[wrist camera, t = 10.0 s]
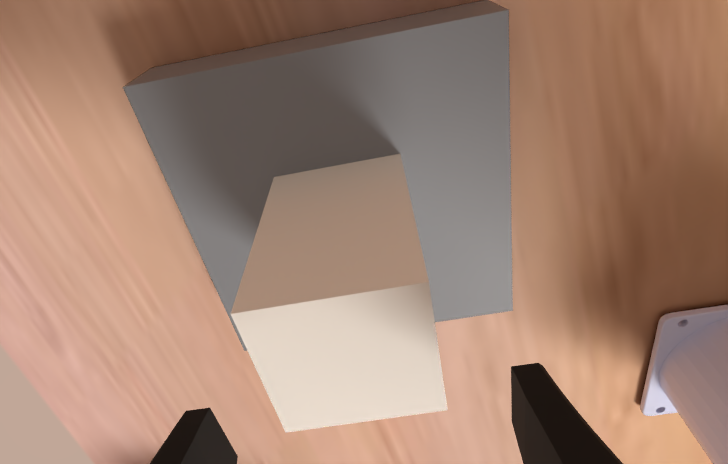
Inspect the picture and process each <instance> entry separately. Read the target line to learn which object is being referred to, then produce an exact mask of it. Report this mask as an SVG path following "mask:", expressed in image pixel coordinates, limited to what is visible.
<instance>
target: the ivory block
mask: <svg viewBox="0 0 728 464" xmlns="http://www.w3.org/2000/svg"><path fill="white" fill-rule="evenodd" d="M231 316H232V318H233V321H234V323H235V325H236V327H237V329H238V331H239V333H240V336H241V338H242V340H243V342H244V344H245V346H246V348H247V351H248V353H249V355H250V357H251V359H252V361H253V363H254V366H255V368H256V370H257V372H258V374H259V376H260V378H261V381H262V383H263V385H264V387H265V389H266V391H267V393H268V396H269V398H270V400H271V402H272V404H273V406H274V408H275V411H276V413H277V415H278V417H279V419H280V421H281V423H282V426H283V428H284V430H285V432H293V431H301V430H308V429H315V428H322V427H330V426H337V425H344V424H351V423H358V422H366V421H373V420H380V419H387V418H395V417H402V416H409V415H416V414H423V413H431V412H438V411H445V410H448V409H447V402H446V395H445V389H444V382H443V375H442V368H441V361H440V354H439V348H438V341H437V334H436V327H435V320H434V313H433V307H432V300H431V293H430V286H429V280H428V276H427V271H426V267H425V262H424V258H423V253H422V249H421V244H420V240H419V235H418V231H417V226H416V222H415V217H414V213H413V208H412V204H411V199H410V195H409V190H408V186H407V181H406V177H405V172H404V168H403V163H402V159H401V154H396V155H390V156H385V157H379V158H374V159H369V160H363V161H358V162H352V163H347V164H342V165H336V166H331V167H326V168H320V169H315V170H309V171H304V172H299V173H293V174H288V175H282V176H277V177H274V178H273V182H272V185H271V188H270V191H269V194H268V197H267V201H266V204H265V207H264V210H263V213H262V216H261V219H260V223H259V226H258V229H257V232H256V235H255V238H254V241H253V245H252V248H251V251H250V254H249V257H248V260H247V264H246V267H245V270H244V273H243V276H242V279H241V282H240V286H239V289H238V292H237V295H236V298H235V301H234V304H233V308H232V311H231Z"/></svg>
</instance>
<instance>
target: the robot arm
mask: <svg viewBox="0 0 728 464" xmlns="http://www.w3.org/2000/svg"><path fill="white" fill-rule="evenodd" d="M511 388H512V424H513V427H514V431H515V435H516V438H517V442H518V446H519V449H520V453H521V456H522V460H523V463H524V464H623V463H622V462H621V461H620V460H619V459H618V458H617V457H616V456H615V454H614V453H613V452H612V451H611V450H610V449H609V448H608V447H607V445H606V444H605V443H604V442H603V441H602V440H601V439H600V437H599V436H598V435H597V434H596V433H595V432H594V431H593V430H592V428H591V427H590V426H589V425H588V424H587V422H586V421H585V420H584V419H583V418H582V416H581V415H580V414H579V413H578V412H577V410H576V409H575V408H574V407H573V405H572V404H571V403H570V402H569V400H568V399H567V398H566V397H565V395H564V394H563V393H562V391H561V390H560V389H559V387H558V386H557V385H556V383H555V382H554V381H553V379H552V378H551V377H550V375H549V374H548V372H547V371H546V370H545V368H544V367H543V366H542V365H541V364H539V363H534V364H527V365H519V366H512V367H511ZM640 410H641V411H642V413H643V414H644V415H646V416H654V415H661V414H669V413H677V412H678V413H679V415H680V416H681V418H682V419H683V421H684V422H685V423H686V425H687V426H688V428H689V429H690V431H691V432H692V434H693V435H694V437H695V438H696V440H697V441H698V443H699V444H700V445H701V447H702V448H703V450H704V451H705V453H706V454H707V456H708V457H709V459H710V460H711V462H712V463H713V464H728V305H721V306H714V307H708V308H701V309H694V310H687V311H680V312H673V313H668V314H665V315H663V316H662V317H661V318H660V320H659V323H658V327H657V332H656V336H655V341H654V345H653V350H652V354H651V359H650V364H649V368H648V373H647V377H646V382H645V386H644V391H643V395H642V400H641V405H640ZM150 464H237V455H236V453H235V451H234V449H233V447H232V446H231V444H230V442H229V440H228V439H227V437H226V435H225V433H224V432H223V430H222V428H221V426H220V425H219V423H218V421H217V419H216V418H215V416H214V414H213V412H212V411H211V409H210V408H205V409H197V410H190V411H186V412H185V413H184V414H183V416H182V417H181V419H180V420H179V422H178V423H177V424H176V426H175V427H174V429H173V430H172V432H171V433H170V435H169V436H168V438H167V439H166V441H165V442H164V444H163V445H162V446H161V448H160V449H159V451H158V452H157V454H156V455H155V457H154V458H153V460H152V461H151V463H150Z"/></svg>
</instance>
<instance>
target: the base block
mask: <svg viewBox="0 0 728 464" xmlns="http://www.w3.org/2000/svg"><path fill="white" fill-rule="evenodd" d="M123 89H124V91H125V93H126V95H127V97H128V100H129V102H130V104H131V106H132V108H133V110H134V113H135V115H136V117H137V119H138V121H139V123H140V126H141V128H142V130H143V132H144V134H145V136H146V139H147V141H148V143H149V145H150V147H151V149H152V152H153V154H154V156H155V158H156V160H157V162H158V165H159V167H160V169H161V171H162V173H163V175H164V177H165V180H166V182H167V184H168V186H169V188H170V190H171V193H172V195H173V197H174V199H175V201H176V203H177V206H178V208H179V210H180V212H181V214H182V216H183V219H184V221H185V223H186V225H187V227H188V229H189V232H190V234H191V236H192V238H193V240H194V242H195V245H196V247H197V249H198V251H199V253H200V255H201V257H202V260H203V262H204V264H205V266H206V268H207V270H208V273H209V275H210V277H211V279H212V281H213V283H214V286H215V288H216V290H217V292H218V294H219V296H220V299H221V301H222V303H223V305H224V307H225V309H226V312H227V314H228V316H229V318H230V320H231V322H232V325H233V327H234V329H235V331H236V333H237V335H238V337H239V340H240V342H241V344H242V346H243V348H244V350H245V351H247V348H246V346H245V344H244V342H243V340H242V338H241V336H240V333H239V331H238V329H237V327H236V325H235V323H234V321H233V318H232V316H231V311H232V308H233V304H234V301H235V298H236V295H237V292H238V289H239V286H240V282H241V279H242V276H243V273H244V270H245V267H246V264H247V260H248V257H249V254H250V251H251V248H252V245H253V241H254V238H255V235H256V232H257V229H258V226H259V223H260V219H261V216H262V213H263V210H264V207H265V204H266V201H267V197H268V194H269V191H270V188H271V185H272V182H273V178H274V177H277V176H282V175H288V174H293V173H299V172H304V171H309V170H315V169H320V168H326V167H331V166H336V165H342V164H347V163H352V162H358V161H363V160H369V159H374V158H379V157H385V156H390V155H396V154H401V159H402V163H403V168H404V172H405V177H406V181H407V186H408V190H409V195H410V199H411V204H412V208H413V213H414V217H415V222H416V226H417V231H418V235H419V240H420V244H421V249H422V253H423V258H424V262H425V267H426V271H427V276H428V280H429V286H430V293H431V300H432V307H433V313H434V320H435V322H440V321H447V320H453V319H460V318H467V317H473V316H480V315H487V314H493V313H500V312H507V311H513V303H512V229H511V154H510V80H509V10H508V9H506V8H504V7H502V6H500V5H498V4H496V3H493V2H491V1H489V0H483V1H478V2H473V3H468V4H463V5H459V6H454V7H449V8H444V9H439V10H434V11H429V12H424V13H419V14H414V15H409V16H404V17H399V18H394V19H390V20H385V21H380V22H375V23H370V24H365V25H360V26H355V27H350V28H345V29H340V30H335V31H330V32H326V33H321V34H316V35H311V36H306V37H301V38H296V39H291V40H286V41H281V42H276V43H271V44H266V45H262V46H257V47H252V48H247V49H242V50H237V51H232V52H227V53H222V54H217V55H212V56H207V57H202V58H198V59H193V60H188V61H183V62H178V63H173V64H168V65H163V66H158V67H153V68H151V69H149V70H148V71H146V72H145V73H143V74H142V75H140V76H139V77H137V78H136V79H134V80H133V81H131V82H130V83H128V84H127V85H125V86H124V87H123Z"/></svg>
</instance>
